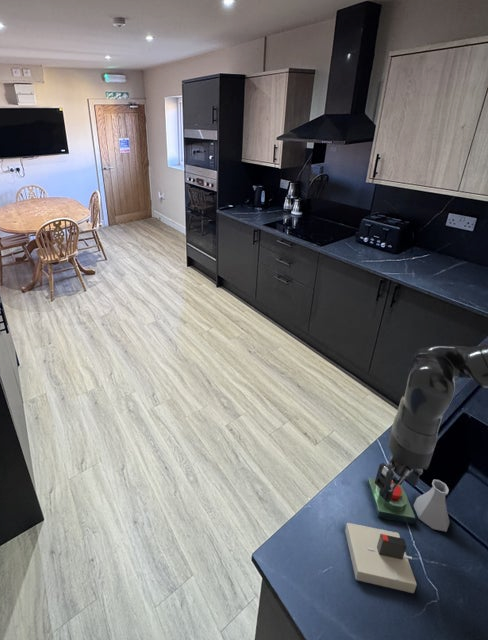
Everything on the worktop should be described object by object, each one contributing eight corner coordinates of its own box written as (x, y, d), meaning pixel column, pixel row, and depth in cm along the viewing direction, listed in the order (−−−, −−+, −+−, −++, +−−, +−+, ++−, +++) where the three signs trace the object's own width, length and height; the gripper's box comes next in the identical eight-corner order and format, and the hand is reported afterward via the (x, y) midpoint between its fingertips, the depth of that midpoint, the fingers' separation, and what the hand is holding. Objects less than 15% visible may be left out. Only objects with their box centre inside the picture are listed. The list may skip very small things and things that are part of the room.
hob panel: (400, 542, 74) (403, 533, 73) (418, 594, 65) (422, 585, 64) (344, 530, 76) (346, 521, 75) (355, 580, 68) (358, 570, 67)
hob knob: (399, 551, 70) (404, 537, 68) (402, 559, 68) (407, 545, 67) (376, 546, 71) (380, 532, 69) (378, 554, 69) (382, 540, 68)
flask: (412, 493, 84) (420, 465, 80) (447, 508, 80) (457, 480, 77) (414, 520, 78) (423, 492, 75) (451, 538, 74) (462, 509, 71)
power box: (399, 489, 85) (403, 478, 83) (413, 524, 77) (417, 513, 76) (367, 483, 86) (369, 473, 85) (377, 517, 79) (380, 506, 77)
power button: (396, 486, 82) (398, 482, 81) (402, 502, 78) (404, 497, 78) (381, 484, 82) (382, 479, 82) (386, 499, 79) (387, 494, 79)
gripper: (417, 411, 73) (402, 463, 79) (372, 434, 68) (360, 487, 73) (453, 439, 67) (435, 493, 72) (407, 466, 62) (391, 521, 67)
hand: (397, 490), depth 73 cm, fingers open, 8 cm apart
